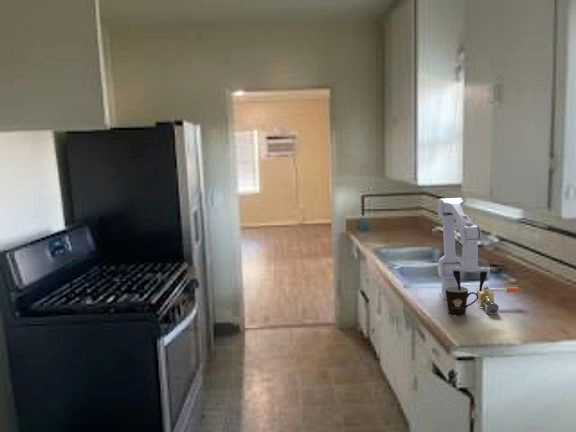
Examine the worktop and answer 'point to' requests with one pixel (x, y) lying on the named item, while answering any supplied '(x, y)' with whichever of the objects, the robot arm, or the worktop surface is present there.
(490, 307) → the pipe valve
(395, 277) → the worktop surface
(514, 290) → the valve lever
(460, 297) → the coffee mug
